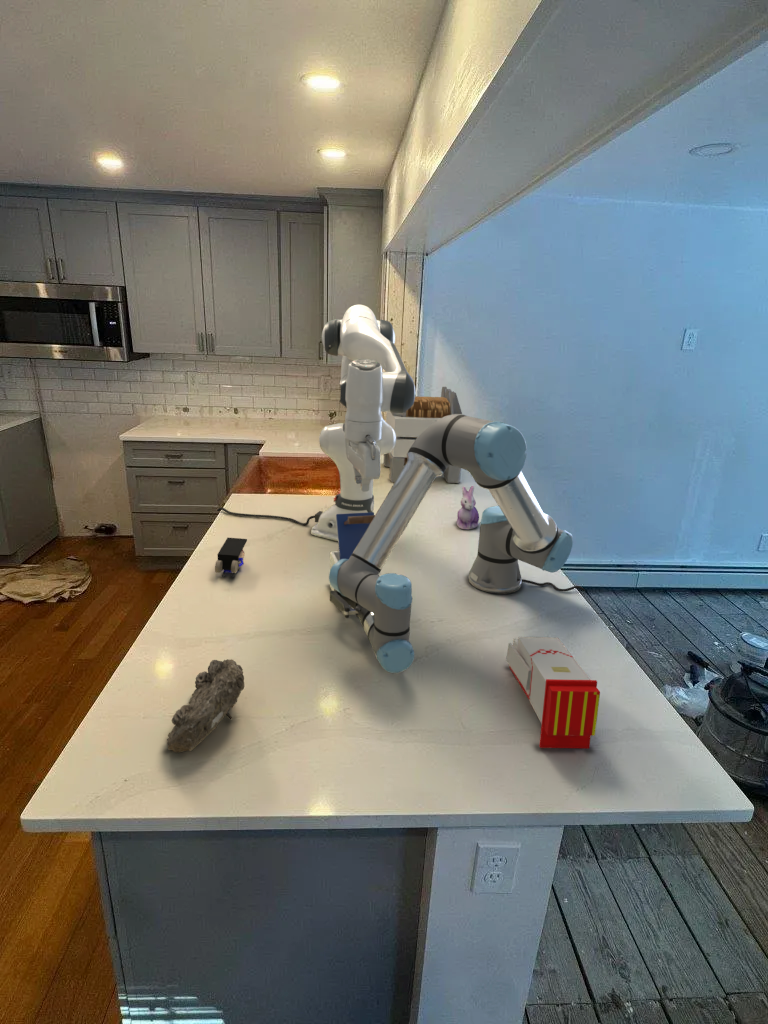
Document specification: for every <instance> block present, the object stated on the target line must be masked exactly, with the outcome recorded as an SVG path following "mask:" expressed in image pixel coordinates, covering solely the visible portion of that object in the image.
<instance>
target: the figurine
mask: <svg viewBox="0 0 768 1024" xmlns="http://www.w3.org/2000/svg"><path fill="white" fill-rule="evenodd" d="M474 490H475V486H474V485H471V487H469V490H467V488H466V487H465V486H462V487H461V491H462V497H461V500H460V505H461V508H460V509H458V510H457V515H456V516H457V519H456V526H458V528H459V529H461V530H473V529H475V528H477V527H478V525H479V521H480V514H479V511H478V509H477V507H476V504H477V502H476V499H475V496H474V492H475V491H474Z"/></svg>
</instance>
